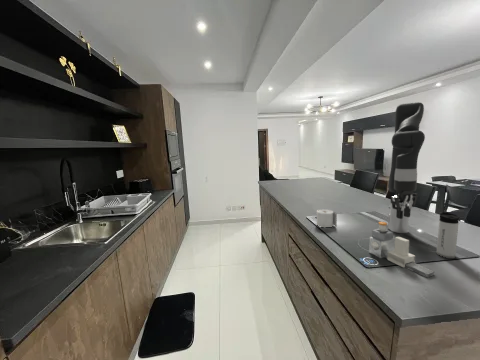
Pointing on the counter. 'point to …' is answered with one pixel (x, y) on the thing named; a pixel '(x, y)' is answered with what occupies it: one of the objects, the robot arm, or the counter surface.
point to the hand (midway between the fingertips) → (403, 217)
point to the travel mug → (447, 235)
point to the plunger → (382, 227)
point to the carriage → (401, 252)
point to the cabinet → (381, 243)
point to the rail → (417, 268)
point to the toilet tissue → (326, 218)
